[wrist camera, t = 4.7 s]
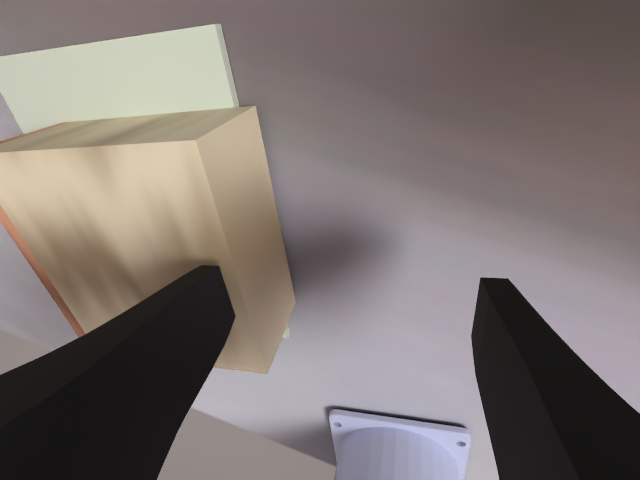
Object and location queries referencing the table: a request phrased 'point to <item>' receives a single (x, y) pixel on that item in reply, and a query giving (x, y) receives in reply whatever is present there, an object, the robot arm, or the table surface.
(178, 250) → the birch slab
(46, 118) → the green board
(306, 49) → the table surface
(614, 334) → the table surface
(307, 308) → the table surface
